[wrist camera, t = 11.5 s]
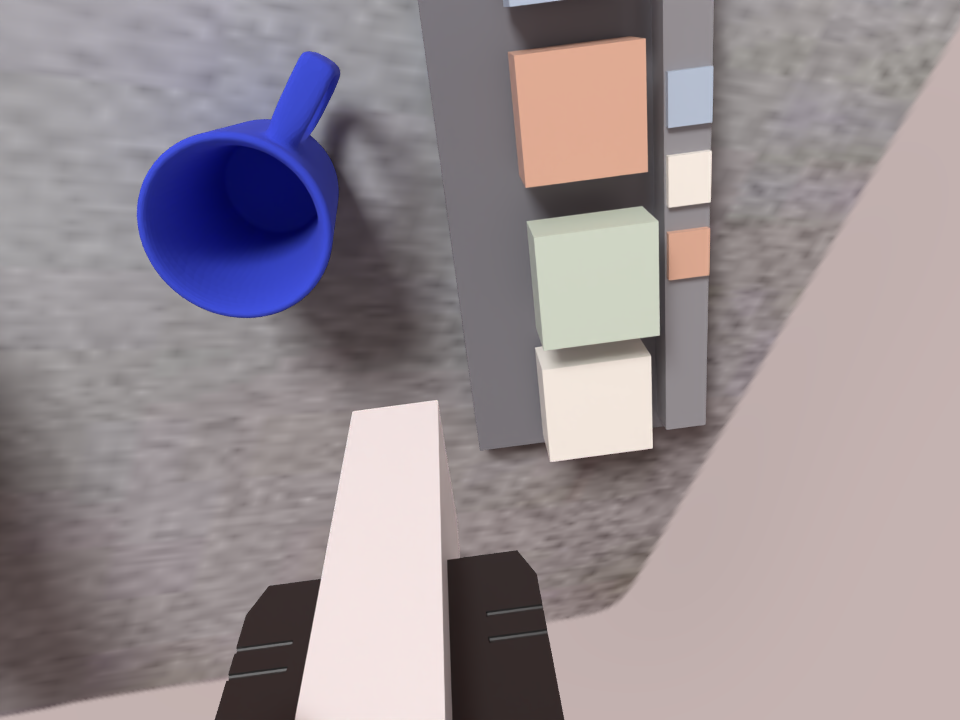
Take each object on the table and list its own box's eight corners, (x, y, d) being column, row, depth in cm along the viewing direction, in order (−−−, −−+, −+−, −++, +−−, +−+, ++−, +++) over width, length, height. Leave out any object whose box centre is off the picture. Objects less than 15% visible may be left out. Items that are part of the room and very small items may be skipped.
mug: (413, 90, 39) (408, 115, 30) (313, 278, 43) (282, 349, 34) (269, 0, 37) (218, -1, 28) (177, 207, 41) (107, 264, 32)
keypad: (478, 434, 49) (482, 472, 45) (398, -147, 35) (394, -167, 31) (689, 406, 49) (712, 441, 45) (694, -185, 35) (728, -210, 31)
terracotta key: (519, 175, 39) (525, 187, 36) (507, 51, 36) (514, 55, 33) (632, 160, 39) (648, 171, 36) (629, 36, 36) (645, 38, 33)
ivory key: (543, 434, 46) (550, 462, 43) (535, 347, 43) (542, 370, 40) (639, 422, 46) (652, 448, 43) (637, 333, 43) (651, 355, 40)
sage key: (536, 327, 41) (543, 350, 38) (526, 221, 38) (533, 237, 35) (644, 313, 41) (659, 335, 38) (642, 206, 38) (658, 221, 35)
